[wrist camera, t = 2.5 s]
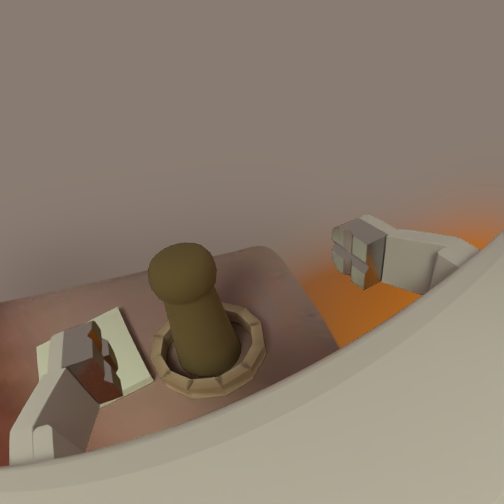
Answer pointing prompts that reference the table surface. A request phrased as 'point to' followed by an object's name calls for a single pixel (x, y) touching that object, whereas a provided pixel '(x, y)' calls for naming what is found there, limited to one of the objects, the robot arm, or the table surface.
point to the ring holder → (226, 380)
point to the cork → (194, 309)
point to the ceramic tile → (124, 348)
